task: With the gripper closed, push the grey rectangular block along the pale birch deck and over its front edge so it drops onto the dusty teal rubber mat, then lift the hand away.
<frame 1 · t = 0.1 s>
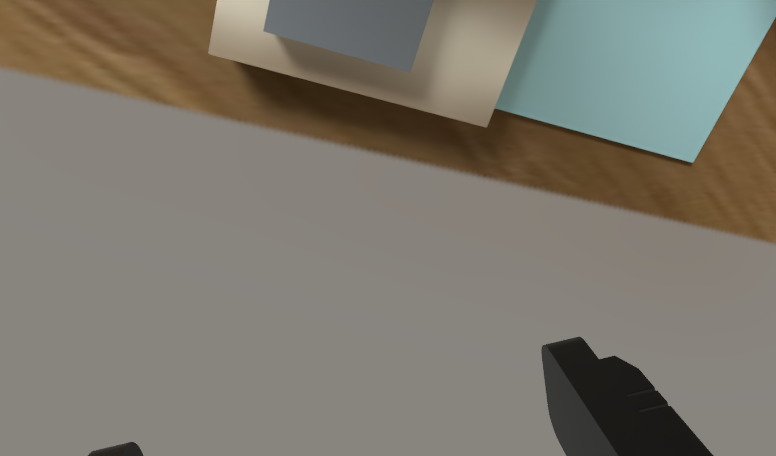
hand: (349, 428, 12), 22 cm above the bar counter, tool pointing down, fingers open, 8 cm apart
mat: (642, 17, 32), on the bar counter
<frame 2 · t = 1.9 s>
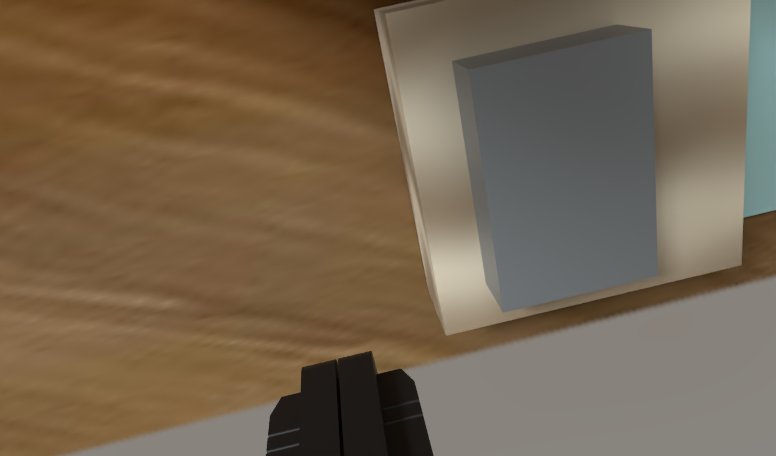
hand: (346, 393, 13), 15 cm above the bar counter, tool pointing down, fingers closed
deck: (546, 131, 27), on the bar counter
grey rectangular block: (558, 172, 22), point 5 cm above the bar counter, touching deck
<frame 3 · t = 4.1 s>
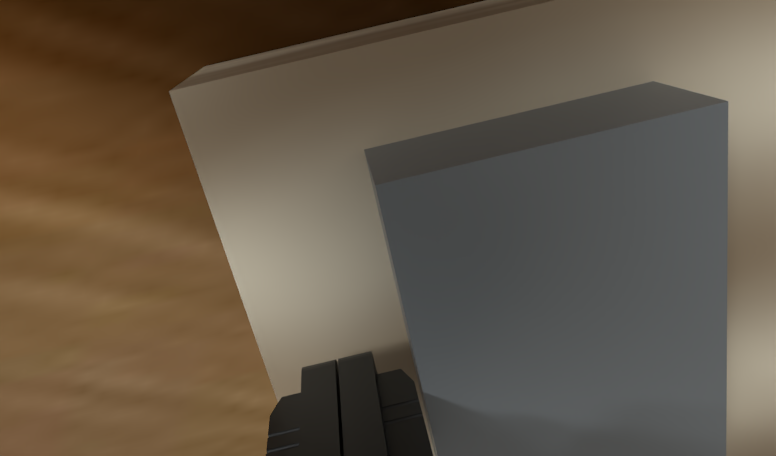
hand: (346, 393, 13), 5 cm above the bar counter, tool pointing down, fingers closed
deck: (496, 239, 18), on the bar counter
grey rectangular block: (554, 334, 13), point 5 cm above the bar counter, touching deck, gripper
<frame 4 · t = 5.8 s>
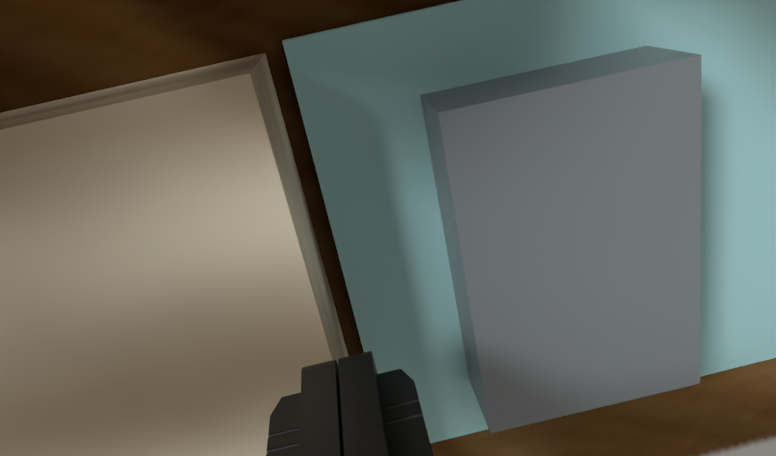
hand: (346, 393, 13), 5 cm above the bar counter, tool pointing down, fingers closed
mat: (578, 215, 18), on the bar counter
deck: (105, 334, 17), on the bar counter
grey rectangular block: (566, 245, 16), point 2 cm above the bar counter, tilted 180°, touching mat
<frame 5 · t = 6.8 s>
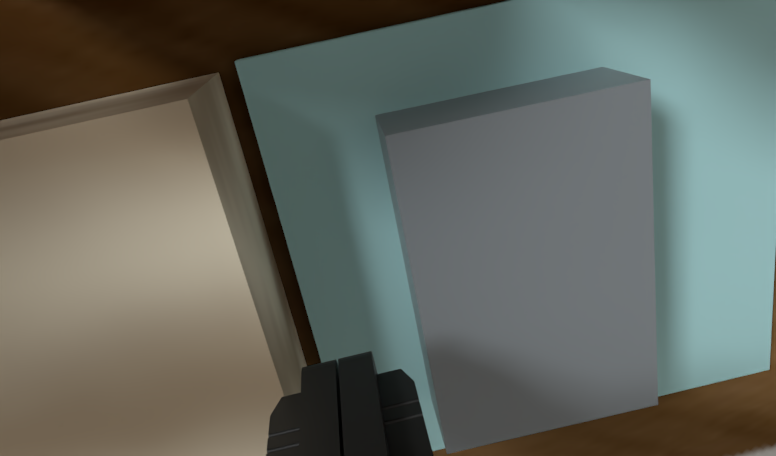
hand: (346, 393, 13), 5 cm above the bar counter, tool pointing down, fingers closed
mat: (538, 234, 18), on the bar counter
deck: (62, 351, 17), on the bar counter
grey rectangular block: (522, 266, 16), point 2 cm above the bar counter, tilted 180°, touching mat
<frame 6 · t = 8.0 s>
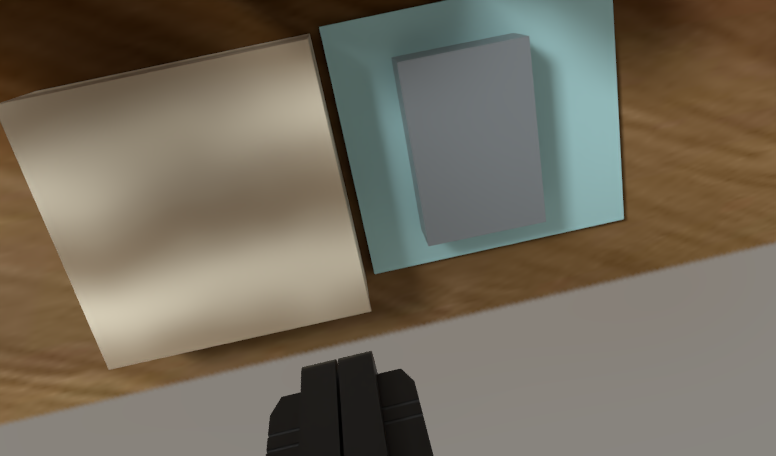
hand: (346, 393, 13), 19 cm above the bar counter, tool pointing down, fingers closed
mat: (482, 129, 31), on the bar counter
deck: (214, 191, 31), on the bar counter
grey rectangular block: (470, 141, 30), point 2 cm above the bar counter, tilted 180°, touching mat
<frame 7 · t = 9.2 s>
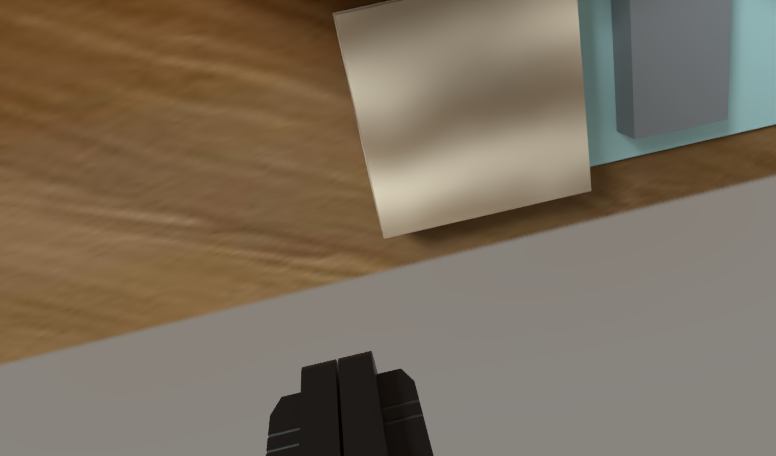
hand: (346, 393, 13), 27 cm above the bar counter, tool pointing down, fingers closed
mat: (671, 47, 38), on the bar counter
deck: (457, 98, 38), on the bar counter
grey rectangular block: (670, 53, 37), point 2 cm above the bar counter, tilted 180°, touching mat
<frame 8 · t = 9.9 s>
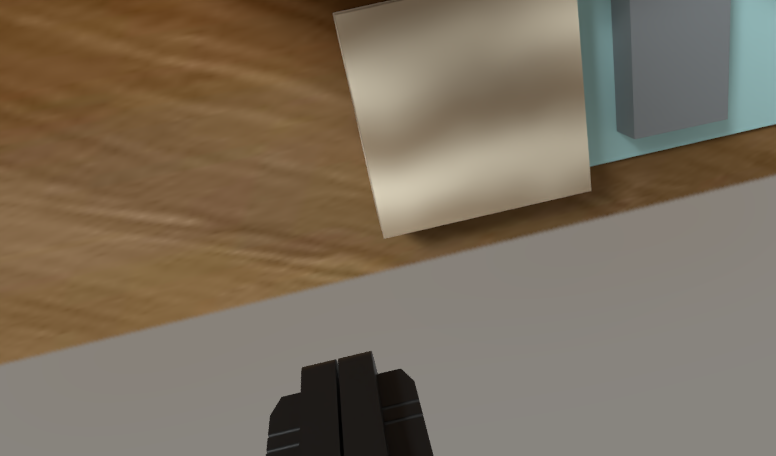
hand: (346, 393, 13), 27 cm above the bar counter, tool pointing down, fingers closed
mat: (671, 47, 38), on the bar counter
deck: (457, 98, 38), on the bar counter
grey rectangular block: (670, 53, 37), point 2 cm above the bar counter, tilted 180°, touching mat
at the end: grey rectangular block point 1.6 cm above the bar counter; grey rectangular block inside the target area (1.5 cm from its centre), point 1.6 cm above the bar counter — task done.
